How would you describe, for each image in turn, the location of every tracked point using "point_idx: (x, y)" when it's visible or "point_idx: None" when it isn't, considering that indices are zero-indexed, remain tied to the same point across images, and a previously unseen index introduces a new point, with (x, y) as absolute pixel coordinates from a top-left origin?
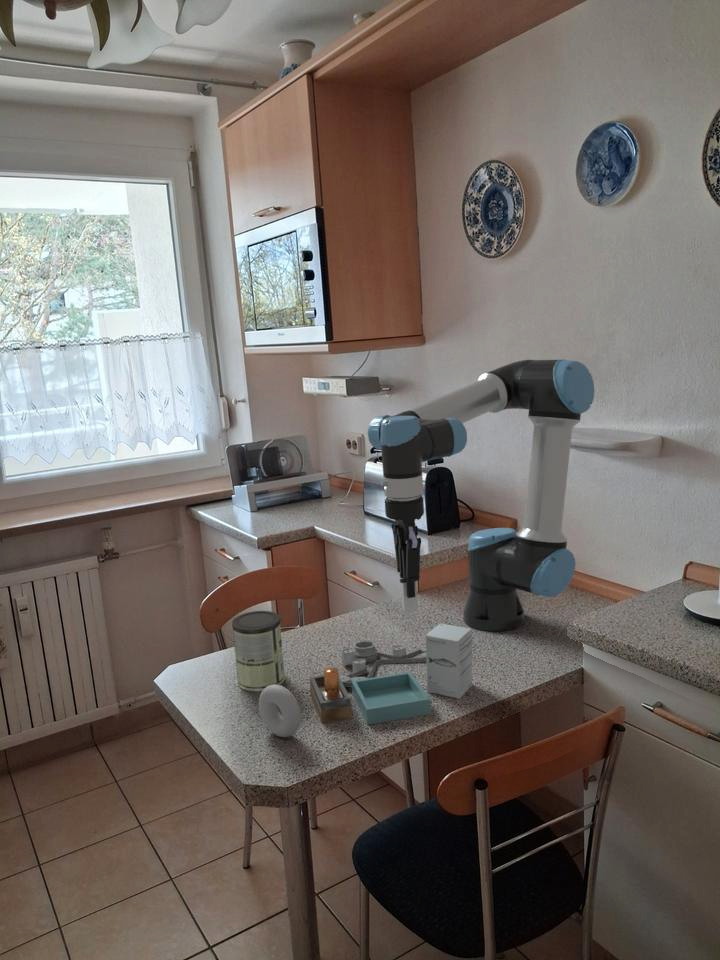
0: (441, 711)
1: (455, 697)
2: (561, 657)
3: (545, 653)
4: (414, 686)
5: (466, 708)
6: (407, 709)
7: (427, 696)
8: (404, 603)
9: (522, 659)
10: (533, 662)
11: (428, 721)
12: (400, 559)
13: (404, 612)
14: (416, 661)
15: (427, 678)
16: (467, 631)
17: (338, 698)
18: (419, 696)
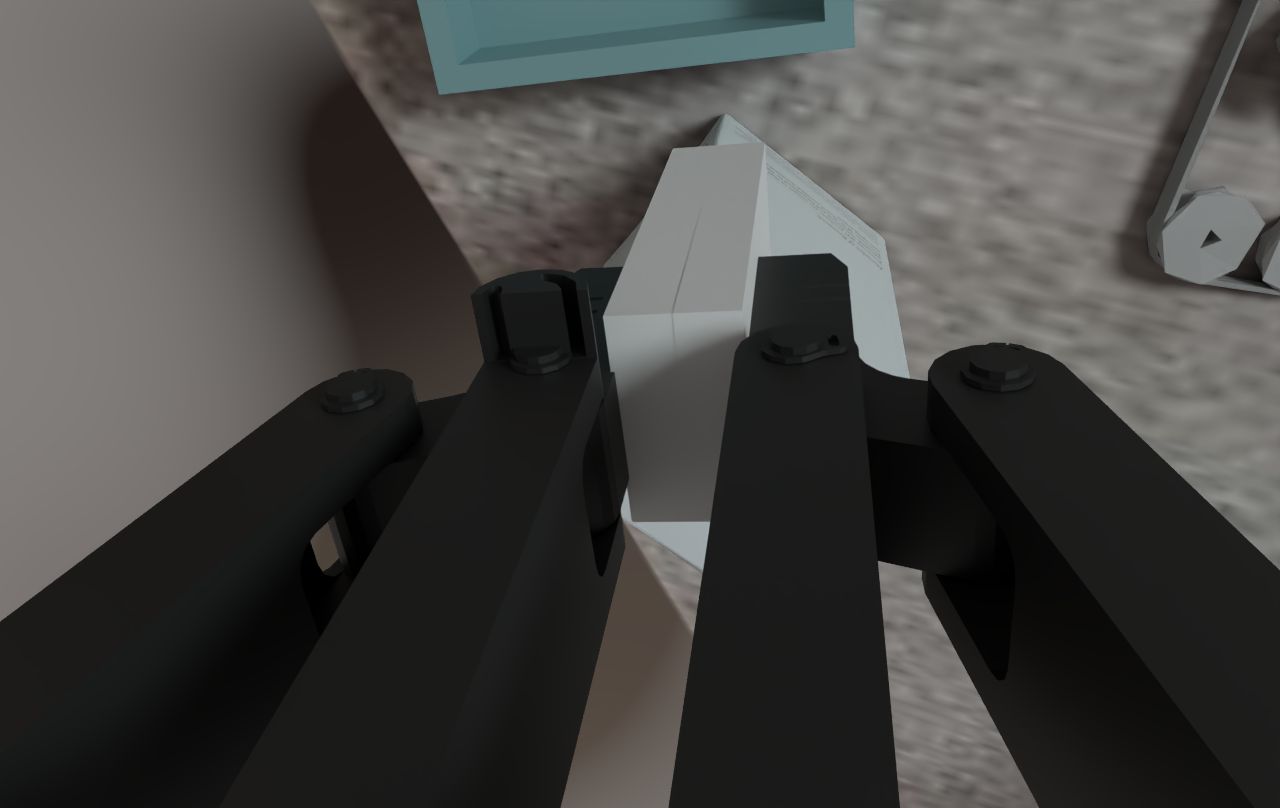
0: (489, 139)
1: (615, 251)
2: (910, 787)
3: (977, 755)
4: (673, 34)
5: (505, 273)
6: None
7: (474, 86)
8: (660, 190)
9: (955, 658)
10: (904, 684)
11: (386, 41)
12: (703, 580)
13: (681, 148)
14: (1186, 138)
15: (712, 142)
16: (687, 555)
17: None
18: (574, 43)
